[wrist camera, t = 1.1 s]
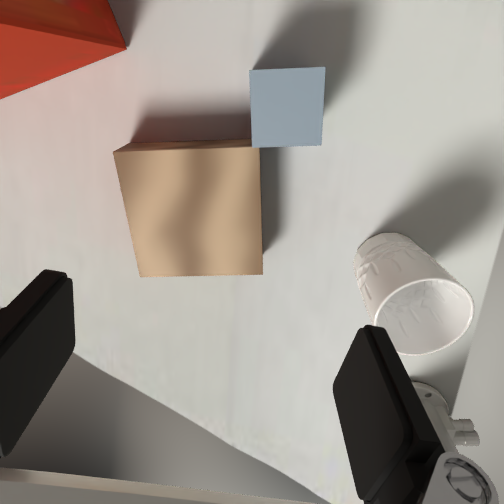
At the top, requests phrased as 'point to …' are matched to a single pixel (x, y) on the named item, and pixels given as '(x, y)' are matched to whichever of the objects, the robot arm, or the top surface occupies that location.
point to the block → (287, 106)
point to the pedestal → (193, 206)
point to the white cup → (411, 295)
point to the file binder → (52, 39)
